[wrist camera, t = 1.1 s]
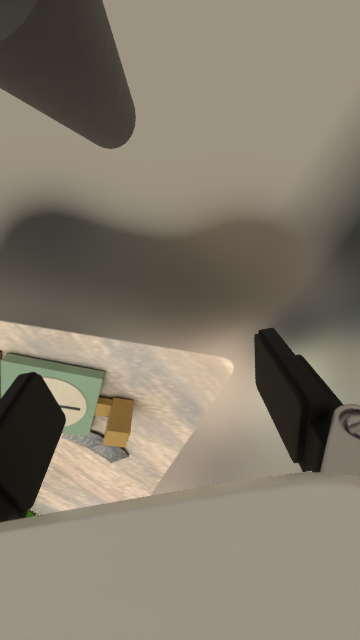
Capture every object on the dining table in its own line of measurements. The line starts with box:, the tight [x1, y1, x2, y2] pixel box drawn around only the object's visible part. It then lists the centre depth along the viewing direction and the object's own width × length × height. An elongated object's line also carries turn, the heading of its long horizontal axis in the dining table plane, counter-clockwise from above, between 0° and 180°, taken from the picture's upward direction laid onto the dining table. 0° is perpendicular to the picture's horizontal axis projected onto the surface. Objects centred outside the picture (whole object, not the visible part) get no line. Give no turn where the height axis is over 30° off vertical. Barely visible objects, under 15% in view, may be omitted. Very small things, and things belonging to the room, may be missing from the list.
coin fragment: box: [62, 432, 128, 463], centre depth 40 cm, size 13×5×1 cm, turn 41°
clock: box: [1, 353, 134, 448], centre depth 33 cm, size 12×17×6 cm
